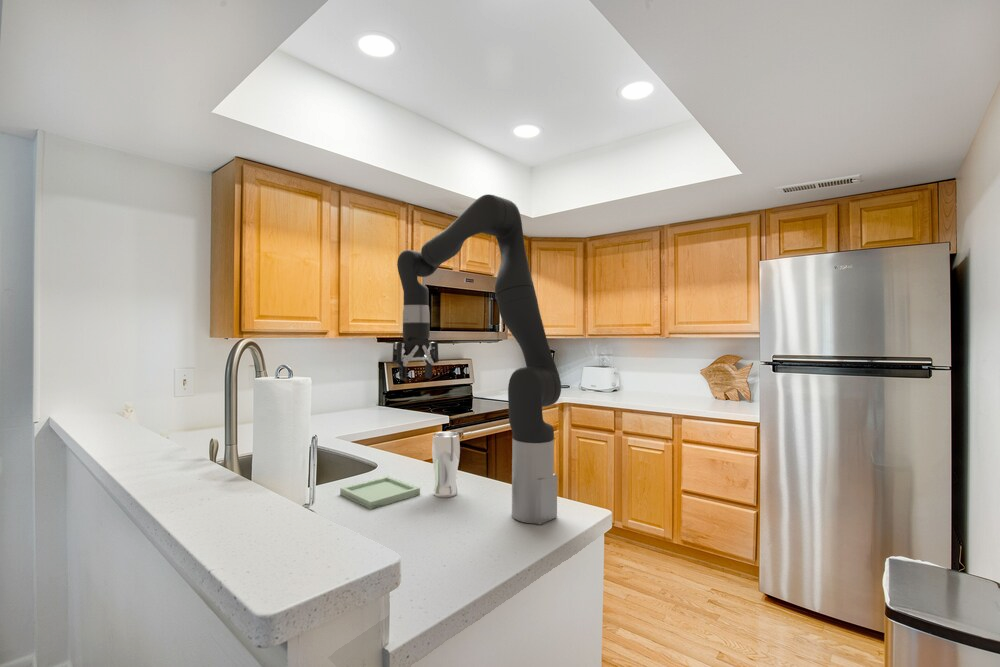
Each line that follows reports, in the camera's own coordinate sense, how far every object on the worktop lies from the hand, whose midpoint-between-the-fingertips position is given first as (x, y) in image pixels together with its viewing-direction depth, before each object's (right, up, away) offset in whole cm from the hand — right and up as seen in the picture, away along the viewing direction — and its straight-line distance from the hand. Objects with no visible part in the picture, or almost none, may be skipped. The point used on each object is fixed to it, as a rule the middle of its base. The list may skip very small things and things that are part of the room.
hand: (416, 379), depth 134 cm
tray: (-6, -27, -15) cm, 32 cm away
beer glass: (+10, -28, -14) cm, 33 cm away
